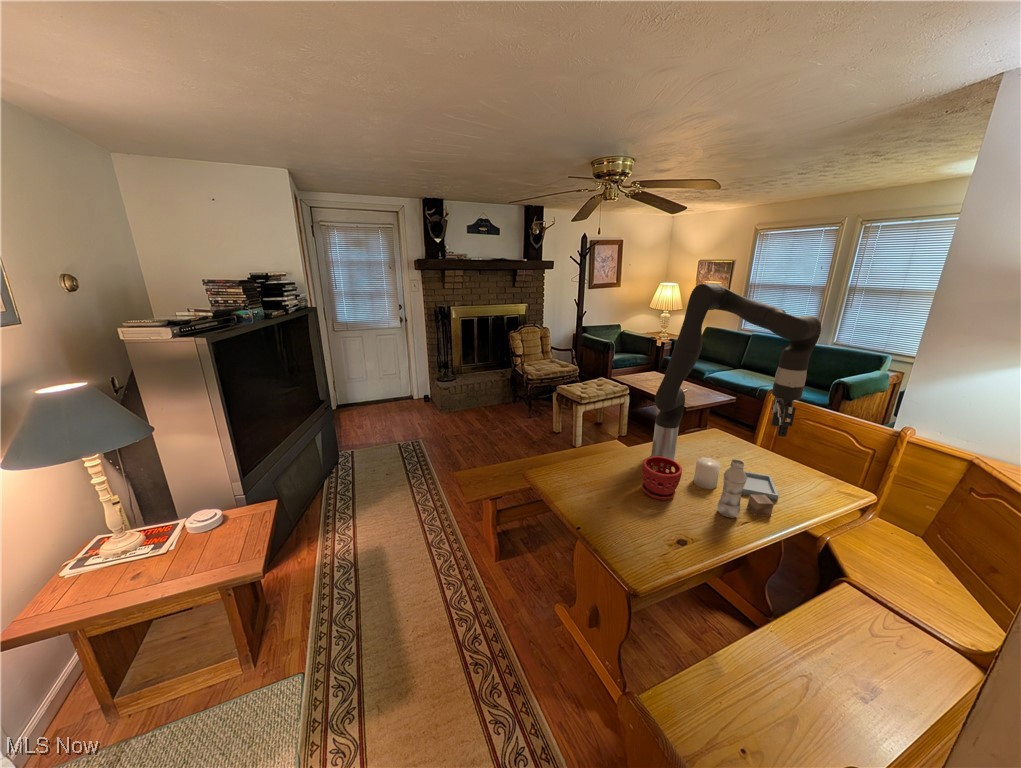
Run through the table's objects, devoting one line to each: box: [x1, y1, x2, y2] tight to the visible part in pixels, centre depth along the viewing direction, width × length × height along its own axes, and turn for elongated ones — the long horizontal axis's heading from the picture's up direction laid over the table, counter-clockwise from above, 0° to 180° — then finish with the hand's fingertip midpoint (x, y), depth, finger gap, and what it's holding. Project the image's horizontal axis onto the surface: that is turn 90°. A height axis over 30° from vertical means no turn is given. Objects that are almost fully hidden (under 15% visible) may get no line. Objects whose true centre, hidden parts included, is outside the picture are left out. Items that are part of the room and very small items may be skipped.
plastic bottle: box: [717, 458, 747, 519], centre depth 123 cm, size 6×7×20 cm
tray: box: [741, 470, 780, 502], centre depth 141 cm, size 14×14×2 cm
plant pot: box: [641, 456, 683, 501], centre depth 136 cm, size 13×13×12 cm
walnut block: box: [747, 494, 775, 517], centre depth 127 cm, size 5×5×5 cm
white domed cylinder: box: [693, 456, 721, 490], centre depth 143 cm, size 8×8×9 cm
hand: (778, 430), depth 119 cm, fingers open, 8 cm apart
